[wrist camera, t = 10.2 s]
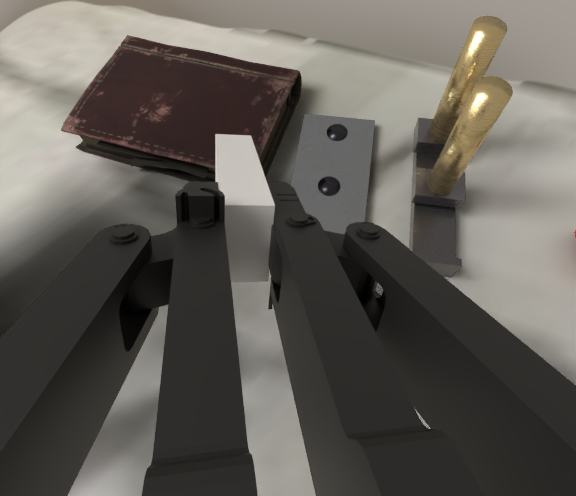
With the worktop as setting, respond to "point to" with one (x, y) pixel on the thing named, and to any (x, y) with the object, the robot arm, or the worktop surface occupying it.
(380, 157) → the worktop surface
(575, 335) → the worktop surface
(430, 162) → the dividers rail
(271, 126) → the diary
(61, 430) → the robot arm
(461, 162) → the sliding leg
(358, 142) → the flange plate
